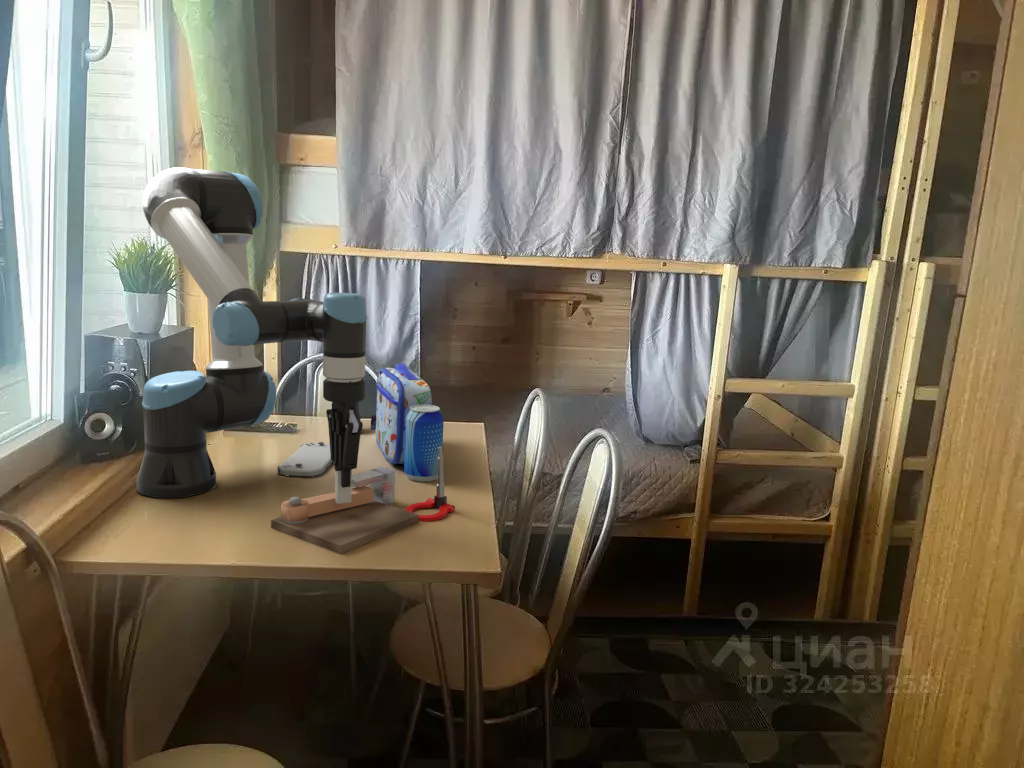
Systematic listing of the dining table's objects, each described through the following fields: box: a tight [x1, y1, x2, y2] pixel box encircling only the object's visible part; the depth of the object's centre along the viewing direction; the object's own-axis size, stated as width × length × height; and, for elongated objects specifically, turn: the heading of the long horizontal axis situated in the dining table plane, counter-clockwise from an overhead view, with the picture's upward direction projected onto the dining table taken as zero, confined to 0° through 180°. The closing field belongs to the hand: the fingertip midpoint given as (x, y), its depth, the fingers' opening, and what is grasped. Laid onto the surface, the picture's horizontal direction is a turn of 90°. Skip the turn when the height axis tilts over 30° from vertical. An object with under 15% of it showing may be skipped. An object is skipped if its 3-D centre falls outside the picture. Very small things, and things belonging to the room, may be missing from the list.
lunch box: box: [370, 362, 433, 465], centre depth 192 cm, size 28×10×22 cm, turn 22°
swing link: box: [280, 485, 373, 522], centre depth 149 cm, size 18×5×4 cm, turn 134°
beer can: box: [403, 404, 445, 483], centre depth 176 cm, size 8×8×16 cm
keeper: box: [352, 466, 396, 505], centre depth 157 cm, size 10×4×6 cm, turn 141°
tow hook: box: [404, 447, 456, 522], centre depth 154 cm, size 8×13×9 cm
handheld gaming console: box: [277, 441, 334, 478], centre depth 184 cm, size 23×3×10 cm
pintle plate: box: [270, 500, 420, 555], centre depth 147 cm, size 18×20×2 cm
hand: (343, 501), depth 148 cm, fingers closed
